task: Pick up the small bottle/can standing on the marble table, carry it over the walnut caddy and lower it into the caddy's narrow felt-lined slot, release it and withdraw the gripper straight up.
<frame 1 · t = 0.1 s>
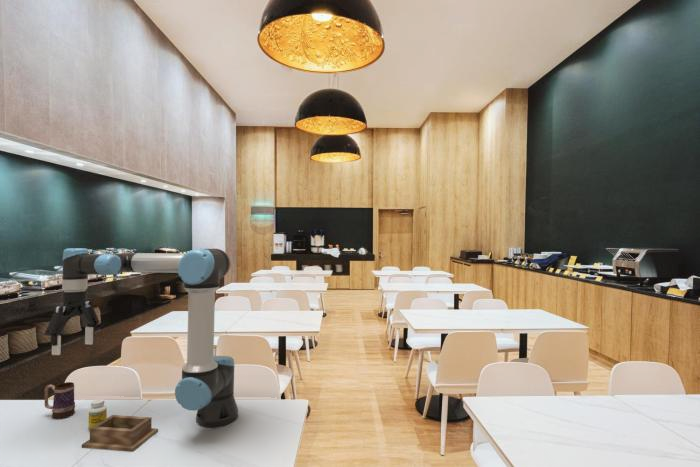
hand: (73, 349, 138), 28 cm above the table, fingers open, 13 cm apart
walnut caddy: (121, 439, 129), on the table
supplement bottle: (97, 428, 136), on the table
mug: (59, 416, 146), on the table
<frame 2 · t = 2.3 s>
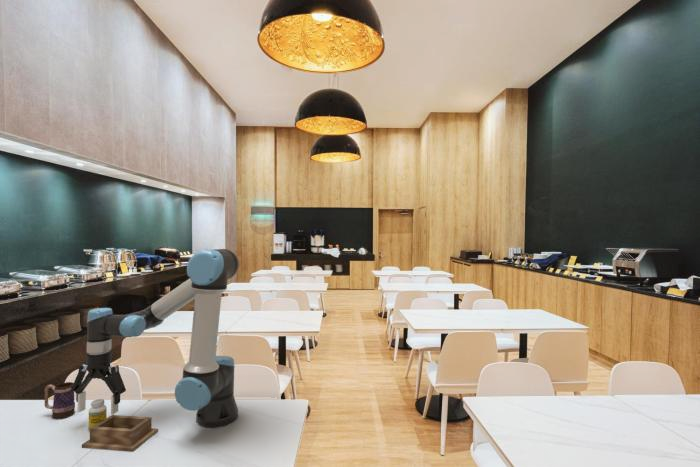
hand: (97, 412, 136), 6 cm above the table, fingers open, 12 cm apart
nothing on the table moved.
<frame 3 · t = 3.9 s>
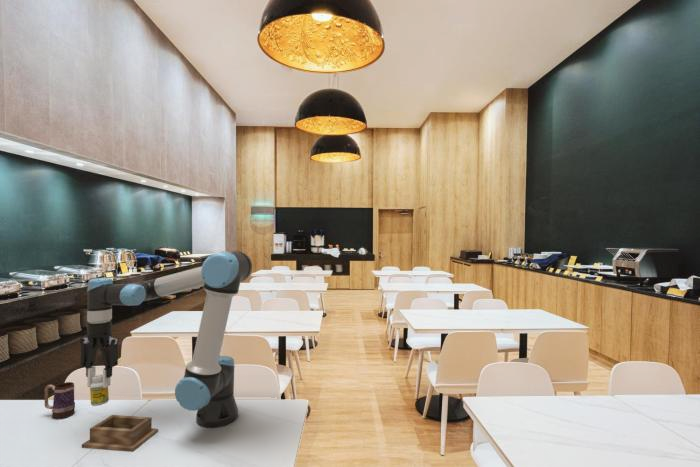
hand: (99, 385, 137), 15 cm above the table, fingers closed on supplement bottle, 5 cm apart
supplement bottle: (99, 403, 137), point 9 cm above the table, touching gripper
everything else where it was.
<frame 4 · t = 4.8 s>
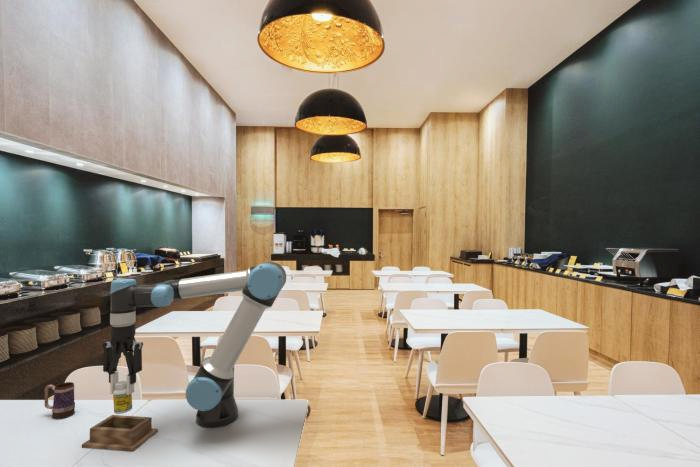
hand: (122, 392, 129), 15 cm above the table, fingers closed on supplement bottle, 5 cm apart
supplement bottle: (123, 411, 129), point 9 cm above the table, touching gripper
everything else where it was.
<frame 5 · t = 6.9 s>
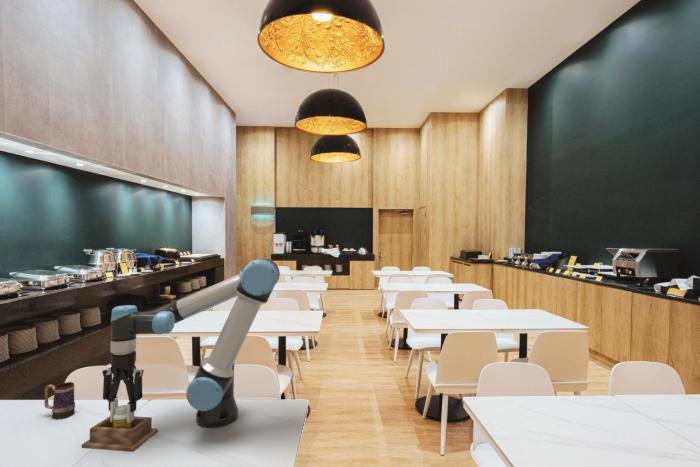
hand: (122, 420, 129), 6 cm above the table, fingers closed on supplement bottle, 5 cm apart
supplement bottle: (122, 436, 129), point 1 cm above the table, touching gripper, walnut caddy
everything else where it was.
when the fingers open (6 cm above the table, at t = 6.9 s): supplement bottle stays where it is, resting on walnut caddy.
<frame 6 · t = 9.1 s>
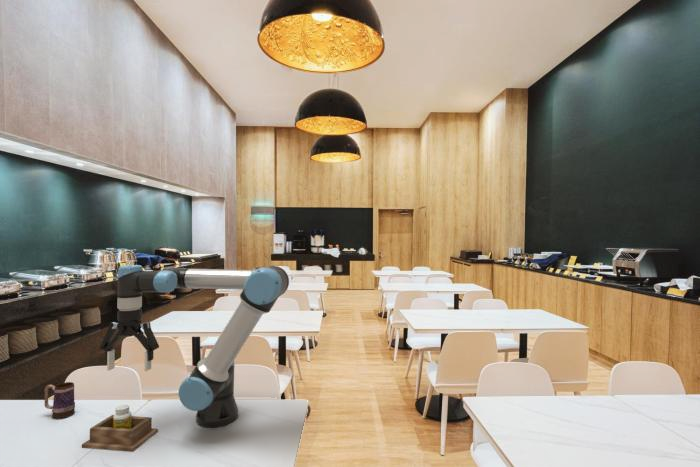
hand: (129, 369, 134), 22 cm above the table, fingers open, 13 cm apart
supplement bottle: (122, 436, 129), point 1 cm above the table, touching walnut caddy
everything else where it was.
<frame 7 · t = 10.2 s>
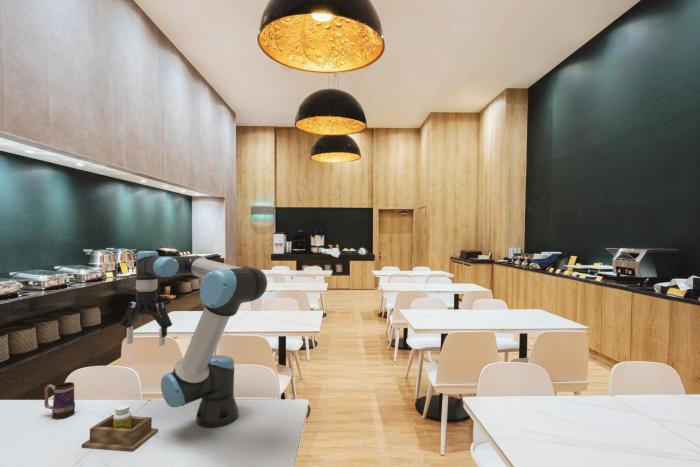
hand: (145, 344, 149), 27 cm above the table, fingers open, 13 cm apart
nothing on the table moved.
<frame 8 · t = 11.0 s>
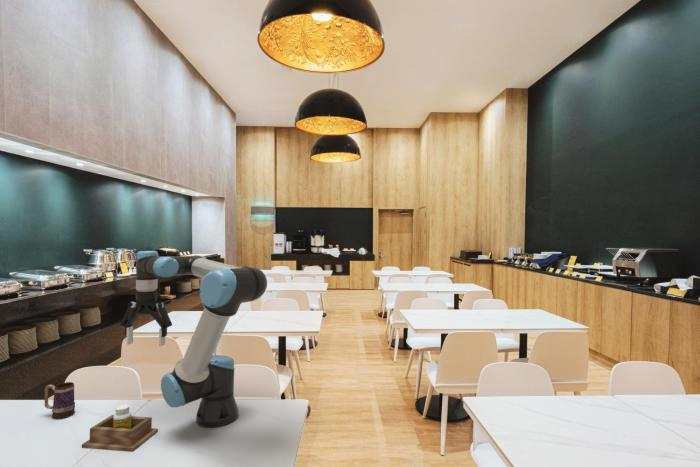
hand: (145, 344, 149), 27 cm above the table, fingers open, 13 cm apart
nothing on the table moved.
at the end: supplement bottle inside the target area on the walnut caddy (0.2 cm from its centre), point 1.0 cm above the walnut caddy's base; supplement bottle tilted 0°; the gripper is holding nothing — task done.
